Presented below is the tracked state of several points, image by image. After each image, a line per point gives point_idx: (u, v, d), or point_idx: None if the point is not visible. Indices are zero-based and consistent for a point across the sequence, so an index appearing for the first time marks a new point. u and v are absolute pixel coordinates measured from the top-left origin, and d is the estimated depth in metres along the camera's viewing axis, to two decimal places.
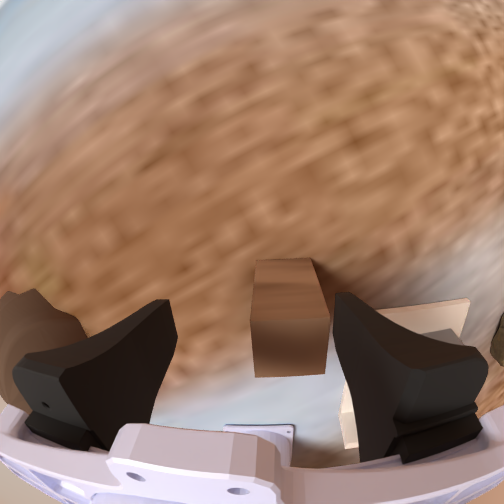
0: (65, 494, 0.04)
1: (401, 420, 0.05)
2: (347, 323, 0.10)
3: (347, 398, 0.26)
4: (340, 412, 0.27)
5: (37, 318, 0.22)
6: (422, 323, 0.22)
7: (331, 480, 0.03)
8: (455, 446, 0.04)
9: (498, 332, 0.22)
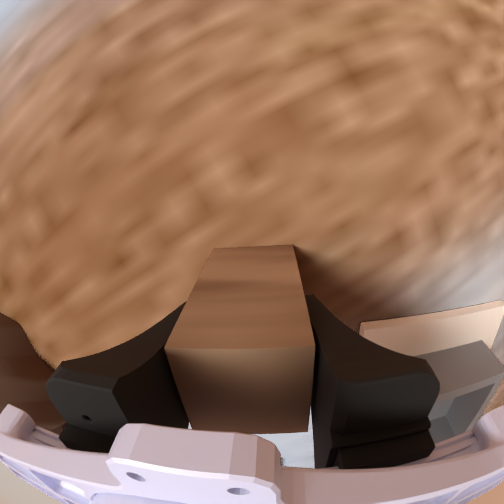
0: (65, 494, 0.04)
1: (338, 432, 0.05)
2: None
3: None
4: None
5: None
6: (448, 335, 0.15)
7: (331, 480, 0.03)
8: (404, 463, 0.05)
9: None
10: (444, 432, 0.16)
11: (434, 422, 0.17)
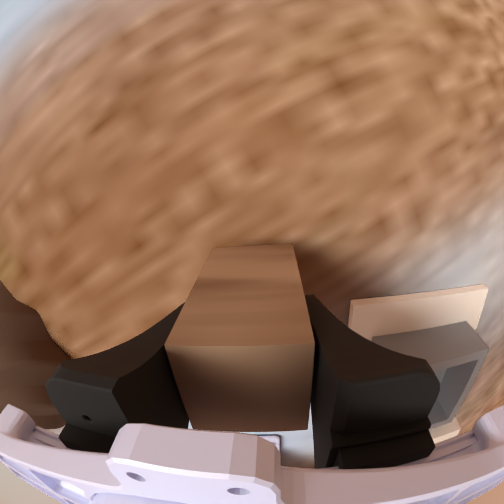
0: (65, 494, 0.04)
1: (338, 432, 0.05)
2: None
3: None
4: None
5: None
6: (432, 314, 0.18)
7: (331, 480, 0.03)
8: (404, 464, 0.05)
9: None
10: (435, 410, 0.18)
11: None
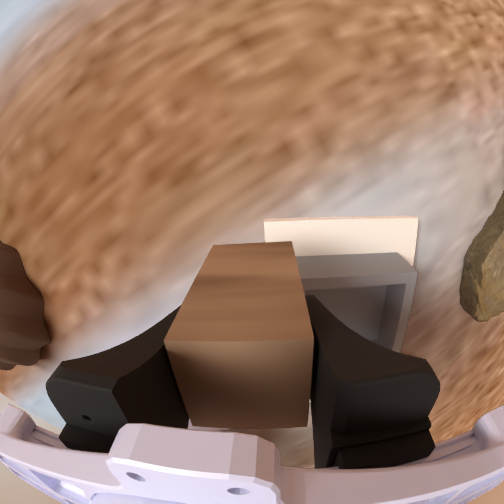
0: (65, 494, 0.04)
1: (337, 432, 0.05)
2: None
3: None
4: None
5: None
6: (353, 239, 0.21)
7: (331, 480, 0.03)
8: (404, 463, 0.05)
9: (464, 277, 0.21)
10: None
11: None
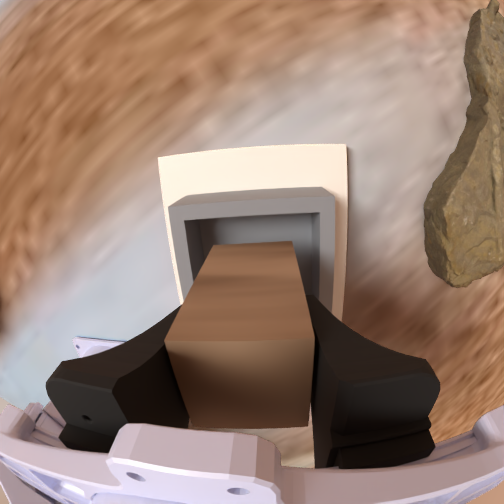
0: (65, 494, 0.04)
1: (338, 432, 0.05)
2: None
3: None
4: None
5: None
6: (260, 170, 0.18)
7: (331, 480, 0.03)
8: (404, 463, 0.05)
9: (426, 230, 0.18)
10: None
11: None
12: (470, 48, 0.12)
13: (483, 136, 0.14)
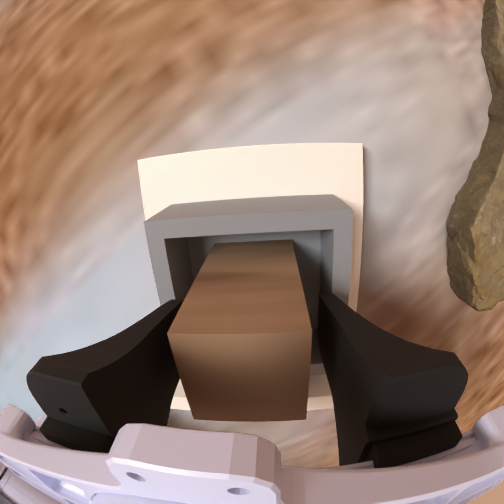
0: (65, 494, 0.04)
1: (373, 426, 0.05)
2: (328, 325, 0.10)
3: None
4: None
5: None
6: (258, 174, 0.14)
7: (331, 480, 0.03)
8: (433, 454, 0.04)
9: (449, 250, 0.15)
10: None
11: None
12: (488, 38, 0.10)
13: None
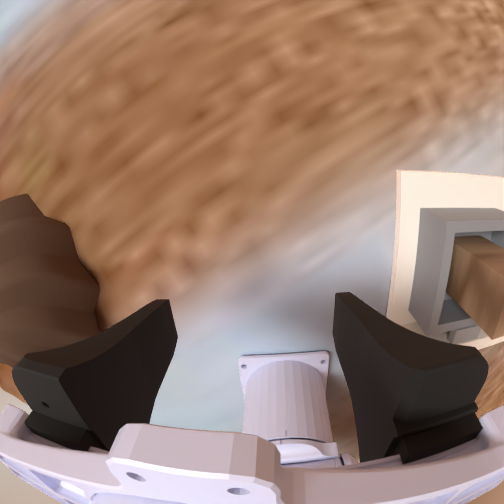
0: (65, 494, 0.04)
1: (401, 420, 0.05)
2: (347, 324, 0.10)
3: (396, 300, 0.21)
4: None
5: (23, 220, 0.18)
6: (467, 193, 0.18)
7: (331, 480, 0.03)
8: (455, 446, 0.04)
9: None
10: None
11: None
12: None
13: None
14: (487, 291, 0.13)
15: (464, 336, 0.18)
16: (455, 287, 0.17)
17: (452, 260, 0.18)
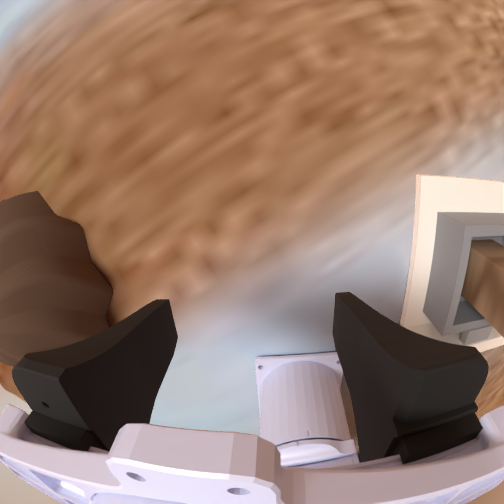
0: (65, 494, 0.04)
1: (401, 420, 0.05)
2: (347, 324, 0.10)
3: (411, 302, 0.21)
4: None
5: (34, 219, 0.18)
6: (481, 198, 0.18)
7: (331, 480, 0.03)
8: (455, 446, 0.04)
9: None
10: None
11: None
12: None
13: None
14: (502, 293, 0.13)
15: (476, 336, 0.18)
16: (469, 289, 0.17)
17: None
